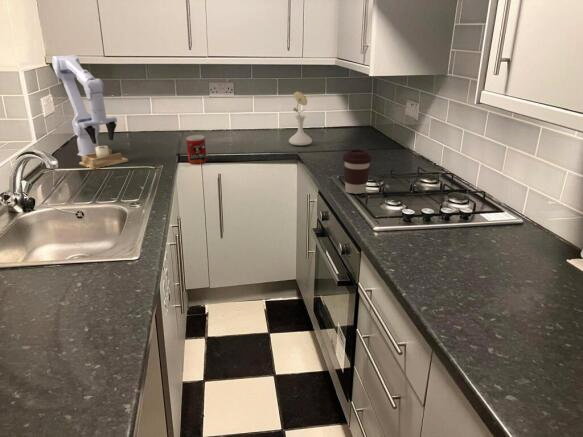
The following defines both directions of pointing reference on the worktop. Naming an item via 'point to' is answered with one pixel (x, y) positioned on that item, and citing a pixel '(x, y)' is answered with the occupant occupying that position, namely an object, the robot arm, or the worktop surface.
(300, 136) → the flower in vase
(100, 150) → the paper roll
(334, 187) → the worktop surface
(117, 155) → the clip holder
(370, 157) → the coffee cup
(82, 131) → the robot arm
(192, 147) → the canned food
